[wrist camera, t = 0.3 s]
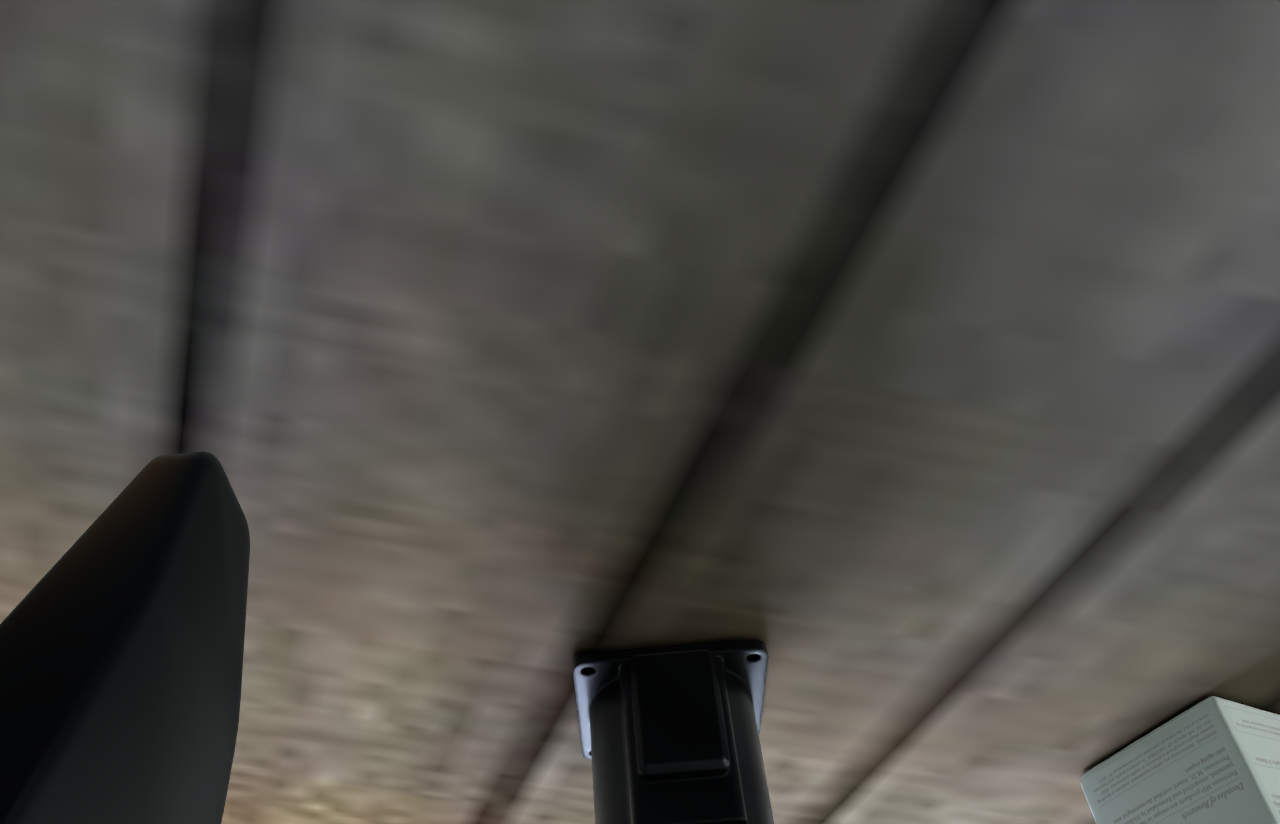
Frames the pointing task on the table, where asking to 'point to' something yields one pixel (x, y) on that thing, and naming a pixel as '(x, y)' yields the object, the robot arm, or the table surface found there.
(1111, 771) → the white packaging box
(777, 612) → the table surface
